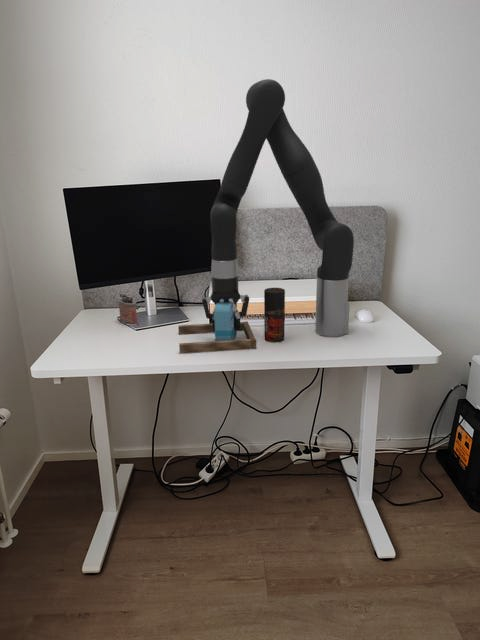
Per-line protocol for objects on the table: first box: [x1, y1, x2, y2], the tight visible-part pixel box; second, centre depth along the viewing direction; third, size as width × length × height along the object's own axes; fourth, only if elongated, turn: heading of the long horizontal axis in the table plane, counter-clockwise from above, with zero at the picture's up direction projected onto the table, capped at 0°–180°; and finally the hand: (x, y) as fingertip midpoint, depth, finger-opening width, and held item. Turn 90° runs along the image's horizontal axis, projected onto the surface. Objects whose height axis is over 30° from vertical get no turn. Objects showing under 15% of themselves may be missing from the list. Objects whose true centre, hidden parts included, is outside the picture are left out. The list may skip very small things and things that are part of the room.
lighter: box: [117, 292, 139, 326], centre depth 167 cm, size 8×3×10 cm, turn 47°
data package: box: [213, 302, 238, 341], centre depth 150 cm, size 12×4×12 cm, turn 171°
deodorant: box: [263, 287, 286, 344], centre depth 150 cm, size 6×6×15 cm
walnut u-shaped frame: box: [177, 320, 257, 355], centre depth 151 cm, size 22×17×2 cm
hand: (226, 330), depth 151 cm, fingers closed on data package, 5 cm apart
